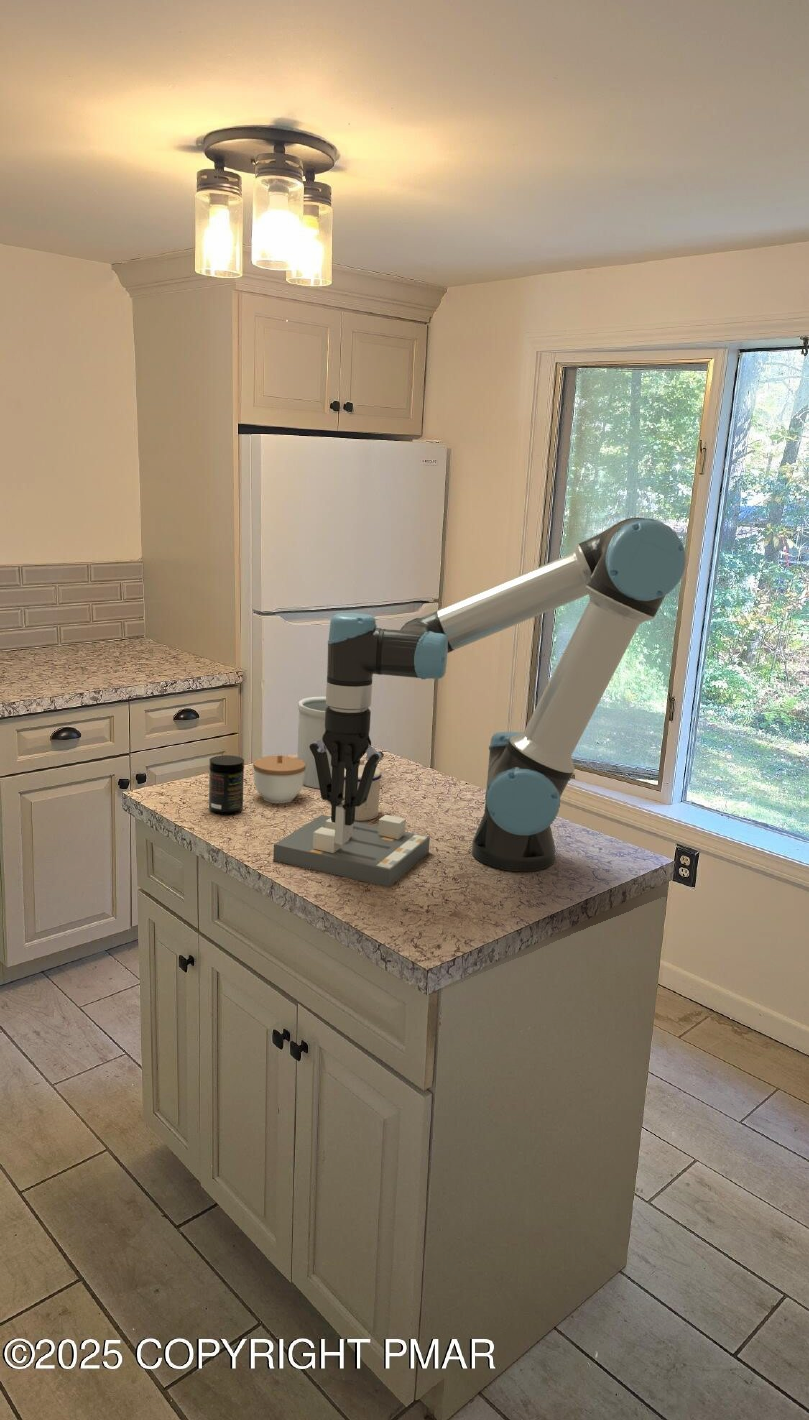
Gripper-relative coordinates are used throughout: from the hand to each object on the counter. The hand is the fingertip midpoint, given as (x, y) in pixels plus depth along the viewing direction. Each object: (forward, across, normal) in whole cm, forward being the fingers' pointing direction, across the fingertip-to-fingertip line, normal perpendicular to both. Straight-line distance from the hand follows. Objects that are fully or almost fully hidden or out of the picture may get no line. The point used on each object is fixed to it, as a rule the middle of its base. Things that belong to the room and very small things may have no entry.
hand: (341, 841), depth 167 cm
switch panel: (+5, 0, -6) cm, 8 cm away
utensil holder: (+5, +24, -44) cm, 50 cm away
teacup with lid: (+5, +10, -26) cm, 28 cm away
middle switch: (+2, +4, -6) cm, 7 cm away
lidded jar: (+5, +28, -26) cm, 39 cm away
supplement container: (+5, +32, -14) cm, 36 cm away
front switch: (+2, +3, 0) cm, 3 cm away
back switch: (+2, -4, -12) cm, 13 cm away
